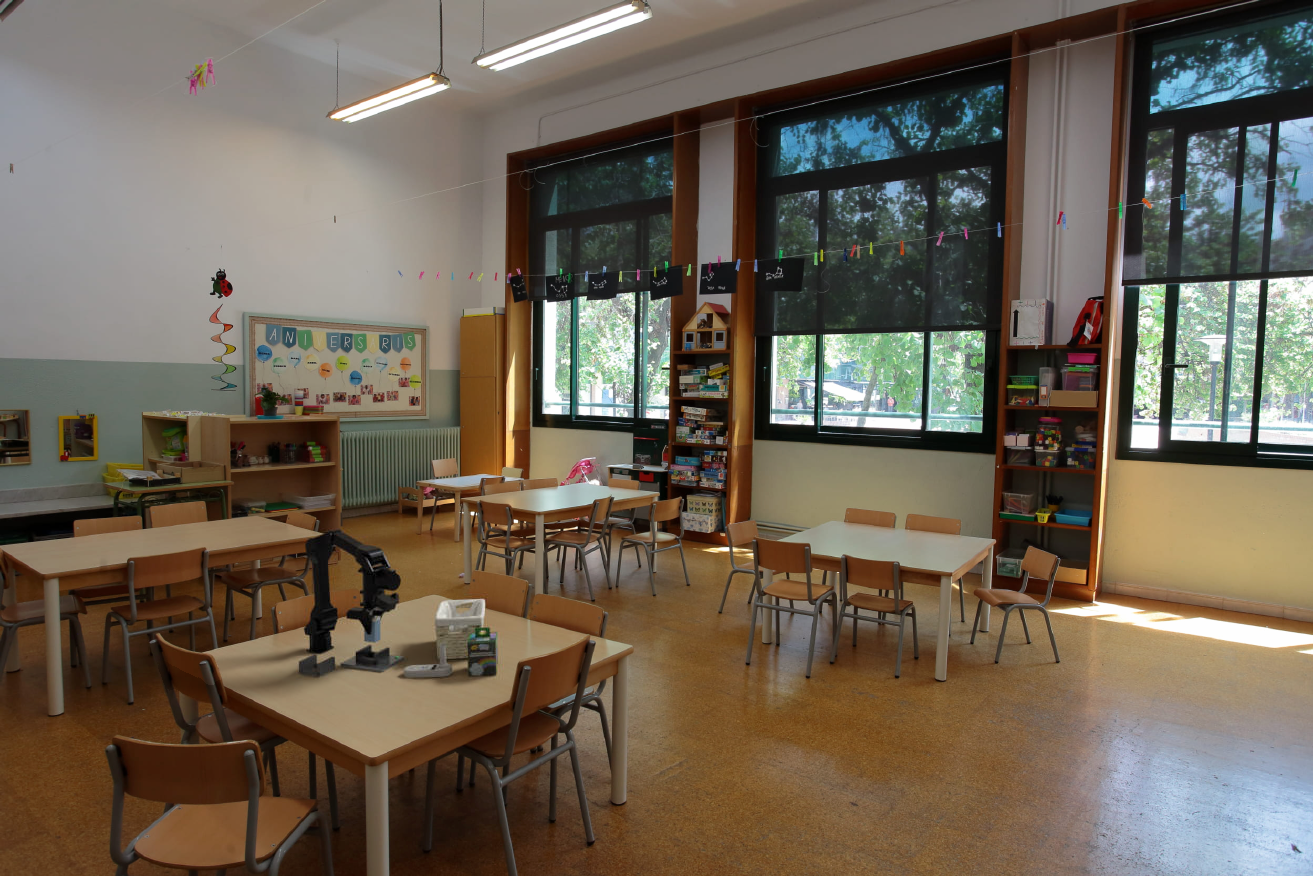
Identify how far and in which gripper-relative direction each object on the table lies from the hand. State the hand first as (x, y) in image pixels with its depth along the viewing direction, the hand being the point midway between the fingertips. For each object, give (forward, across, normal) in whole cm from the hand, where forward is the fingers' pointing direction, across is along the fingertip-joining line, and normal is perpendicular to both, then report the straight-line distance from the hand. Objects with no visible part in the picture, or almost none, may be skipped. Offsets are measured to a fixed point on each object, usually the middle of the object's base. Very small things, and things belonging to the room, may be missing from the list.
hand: (372, 633), depth 256 cm
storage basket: (+10, +22, -20) cm, 32 cm away
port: (+10, 0, 0) cm, 10 cm away
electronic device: (+10, -3, -23) cm, 26 cm away
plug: (+2, 0, 0) cm, 2 cm away
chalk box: (+10, +5, -38) cm, 40 cm away
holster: (+10, -12, +12) cm, 20 cm away
